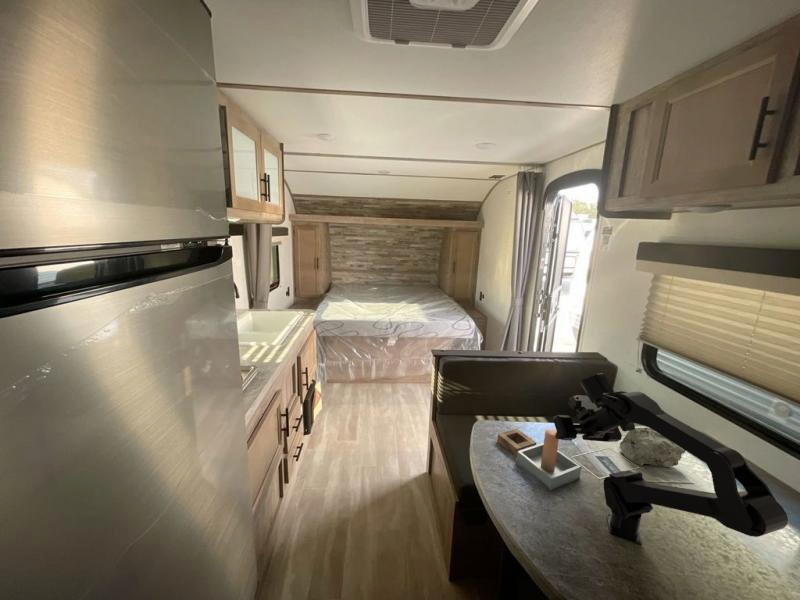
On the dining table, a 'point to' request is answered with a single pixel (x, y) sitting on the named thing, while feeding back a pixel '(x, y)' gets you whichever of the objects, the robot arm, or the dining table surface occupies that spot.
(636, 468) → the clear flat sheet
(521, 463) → the tray
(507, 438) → the socket block
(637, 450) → the stone
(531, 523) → the dining table surface
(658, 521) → the dining table surface
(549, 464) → the dowel
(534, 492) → the dining table surface
